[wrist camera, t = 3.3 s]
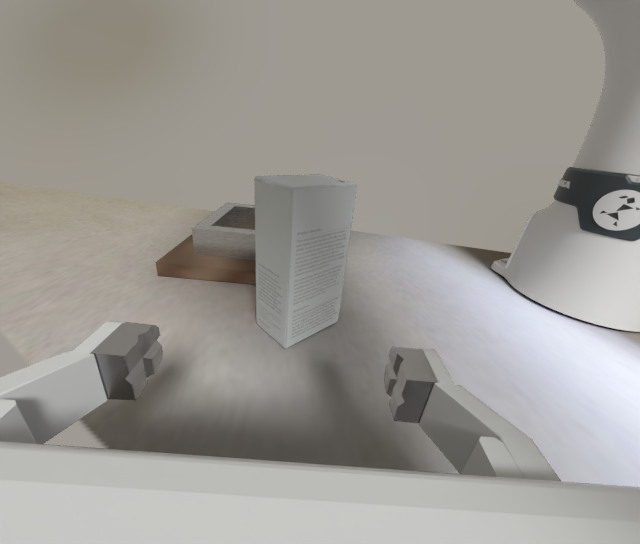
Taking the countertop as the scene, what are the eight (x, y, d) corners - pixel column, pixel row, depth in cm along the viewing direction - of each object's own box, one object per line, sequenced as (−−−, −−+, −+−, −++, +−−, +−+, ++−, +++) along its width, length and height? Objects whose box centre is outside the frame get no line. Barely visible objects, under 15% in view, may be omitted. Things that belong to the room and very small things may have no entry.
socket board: (328, 236, 46) (331, 208, 44) (331, 291, 30) (336, 251, 28) (216, 225, 46) (214, 196, 44) (157, 275, 29) (151, 234, 28)
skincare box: (307, 301, 28) (319, 173, 23) (338, 323, 25) (360, 183, 20) (252, 323, 24) (252, 174, 19) (283, 351, 21) (293, 186, 16)
